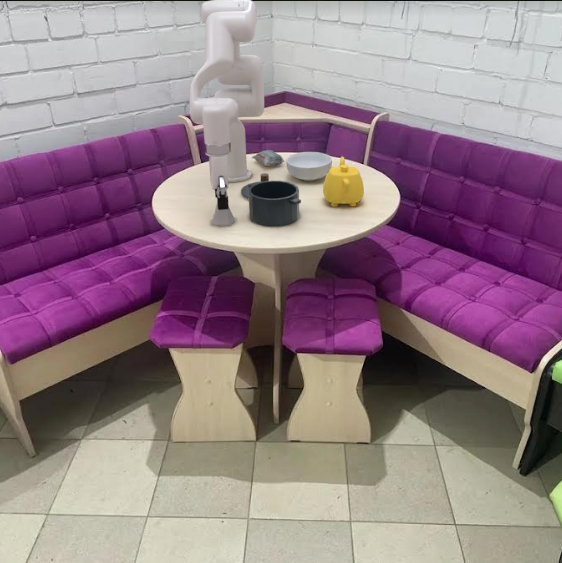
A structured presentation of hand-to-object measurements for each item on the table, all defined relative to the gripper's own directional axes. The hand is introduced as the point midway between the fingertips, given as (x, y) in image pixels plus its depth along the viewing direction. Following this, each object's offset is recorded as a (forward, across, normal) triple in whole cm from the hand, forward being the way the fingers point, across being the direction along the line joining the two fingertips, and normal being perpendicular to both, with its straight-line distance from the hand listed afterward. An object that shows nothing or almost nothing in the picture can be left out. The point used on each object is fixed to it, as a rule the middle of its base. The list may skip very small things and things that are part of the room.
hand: (221, 203), depth 173 cm
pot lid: (+6, -21, +16) cm, 27 cm away
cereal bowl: (+6, -32, +35) cm, 48 cm away
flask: (+7, 0, 0) cm, 7 cm away
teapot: (+6, -9, +41) cm, 43 cm away
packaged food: (+6, -49, +22) cm, 54 cm away
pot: (+6, -1, +16) cm, 18 cm away
